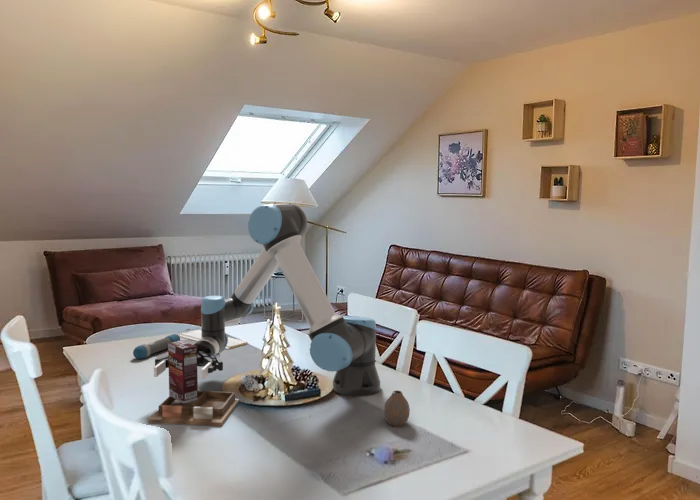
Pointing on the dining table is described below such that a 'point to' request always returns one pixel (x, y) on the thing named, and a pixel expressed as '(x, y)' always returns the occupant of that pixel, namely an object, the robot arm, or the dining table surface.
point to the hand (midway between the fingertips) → (178, 373)
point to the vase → (396, 409)
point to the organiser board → (197, 409)
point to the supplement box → (183, 371)
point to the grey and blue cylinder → (154, 346)
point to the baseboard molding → (197, 336)
